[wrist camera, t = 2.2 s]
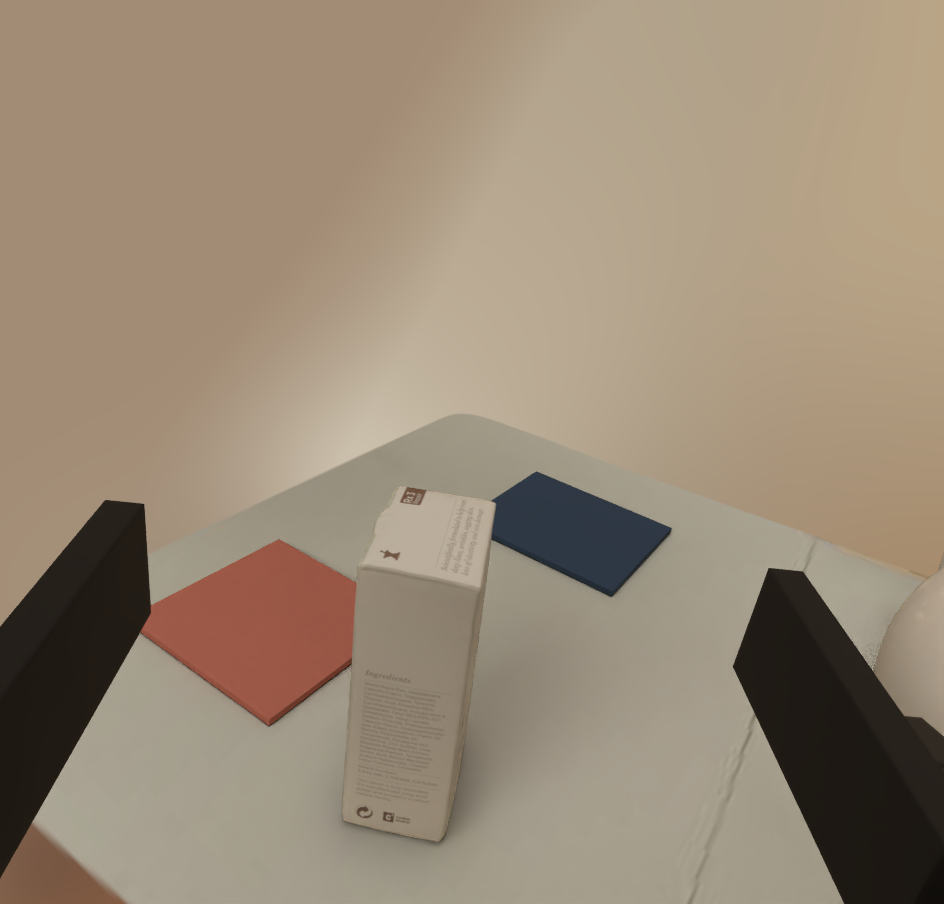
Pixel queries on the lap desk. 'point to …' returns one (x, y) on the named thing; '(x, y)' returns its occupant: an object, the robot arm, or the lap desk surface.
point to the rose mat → (261, 628)
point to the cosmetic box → (414, 660)
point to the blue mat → (575, 531)
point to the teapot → (917, 653)
